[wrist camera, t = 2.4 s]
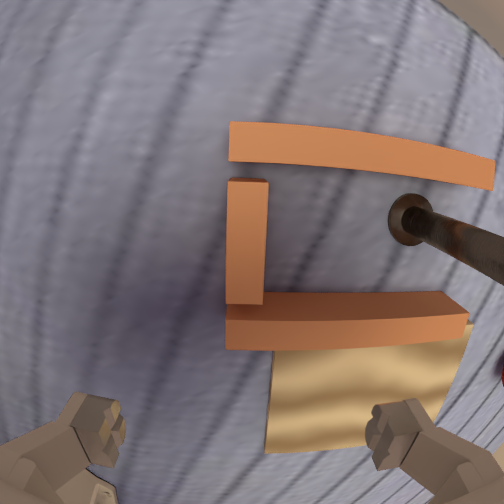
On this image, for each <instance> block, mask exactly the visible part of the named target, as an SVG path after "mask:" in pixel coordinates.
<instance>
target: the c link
mask: <svg viewBox="0 0 504 504" xmlns="http://www.w3.org/2000/svg"><path fill="white" fill-rule="evenodd" d="M229 161H231V162H258V163H279V164H295V165H310V166H322V167H334V168H344V169H354V170H363V171H372V172H381V173H388V174H396V175H403V176H410V177H417V178H424V179H430V180H436V181H442V182H448V183H454V184H459V185H465V186H470V187H475V188H480V189H485V190H490V191H493V187H494V174H495V161H494V160H491V159H487V158H484V157H480V156H477V155H473V154H469V153H465V152H461V151H457V150H453V149H449V148H445V147H440V146H436V145H431V144H427V143H422V142H417V141H412V140H407V139H401V138H396V137H390V136H384V135H378V134H372V133H365V132H358V131H351V130H343V129H335V128H326V127H316V126H305V125H293V124H279V123H261V122H233V121H230V134H229ZM268 186H269V183H268V182H267V181H266V180H265V179H259V178H230V180H229V181H228V194H227V236H226V304H227V311H226V321H225V350H267V351H288V350H331V349H353V348H369V347H383V346H395V345H406V344H416V343H426V342H434V341H442V340H450V339H457V338H462V336H463V333H464V330H465V327H466V324H467V320H468V317H469V314H470V313H469V312H468V311H467V310H465V309H464V308H463V307H461V306H460V305H459V304H457V303H456V302H455V301H454V300H452V299H451V298H450V297H448V296H447V295H446V294H444V293H443V292H442V291H426V292H373V293H305V292H263V286H264V268H265V248H266V229H267V208H268Z"/></svg>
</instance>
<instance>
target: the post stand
mask: <svg viewBox="0 0 504 504" xmlns="http://www.w3.org/2000/svg"><path fill="white" fill-rule="evenodd" d="M388 225H389V230H390V232H391V234H392V236H393V237H394V239H396V240H397V241H398V242H400V243H401V244H403V245H406V246H415V245H418V244H420V243H422V242H423V241H424V242H426V243H428V244H429V245H431V246H433V247H435V248H437V249H439V250H441V251H443V252H445V253H447V254H449V255H450V256H452V257H454V258H456V259H458V260H460V261H461V262H463V263H465V264H467V265H469V266H470V267H472V268H474V269H476V270H478V271H479V272H481V273H483V274H485V275H486V276H488V277H490V278H492V279H493V280H495V281H497V282H498V283H500V284H502V285H503V286H504V237H502V236H499V235H496V234H494V233H491V232H489V231H486V230H483V229H481V228H478V227H475V226H472V225H470V224H467V223H464V222H461V221H458V220H456V219H453V218H450V217H447V216H444V215H441V214H438V213H435V212H433V209H432V207H431V205H430V203H429V202H428V200H427V199H425V198H424V197H423V196H420V195H417V194H411V193H410V194H405V195H403V196H401V197H399V198H398V199H397V200H396V201H395V202H394V204H393V205H392V207H391V209H390V212H389V217H388Z"/></svg>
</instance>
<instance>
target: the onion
mask: <svg viewBox="0 0 504 504" xmlns="http://www.w3.org/2000/svg"><path fill="white" fill-rule="evenodd" d="M502 383H503V386H504V366H503V371H502Z"/></svg>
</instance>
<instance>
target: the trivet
mask: <svg viewBox="0 0 504 504" xmlns="http://www.w3.org/2000/svg"><path fill="white" fill-rule="evenodd" d="M473 325H474V324H473V323H472V322H470V321H469V320H467V324H466V327H465V330H464V333H463V336H462V338H457V339H450V340H442V341H434V342H426V343H416V344H406V345H395V346H383V347H369V348H353V349H331V350H288V351H273V361H272V372H271V383H270V393H269V404H268V414H267V423H266V433H265V442H264V451H265V453H293V452H309V451H321V450H331V449H340V448H348V447H355V446H362V445H367V443H366V440H365V428H366V425H367V422H368V421H369V420H370V419H372V418H373V416H372V414H371V411H372V409H373V407H374V406H375V404H381V403H387V402H393V401H399V400H405V399H410V398H417V399H418V400H419V402H420V403H421V405H422V406H423V408H424V409H425V411H426V412H427V414H428V416H429V417H430V419H431V420H432V422H434V420H435V418H436V416H437V414H438V412H439V410H440V408H441V406H442V404H443V402H444V400H445V397H446V395H447V393H448V391H449V389H450V386H451V384H452V382H453V379H454V377H455V374H456V372H457V369H458V367H459V364H460V362H461V359H462V357H463V354H464V351H465V348H466V346H467V343H468V340H469V337H470V334H471V331H472V328H473Z"/></svg>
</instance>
